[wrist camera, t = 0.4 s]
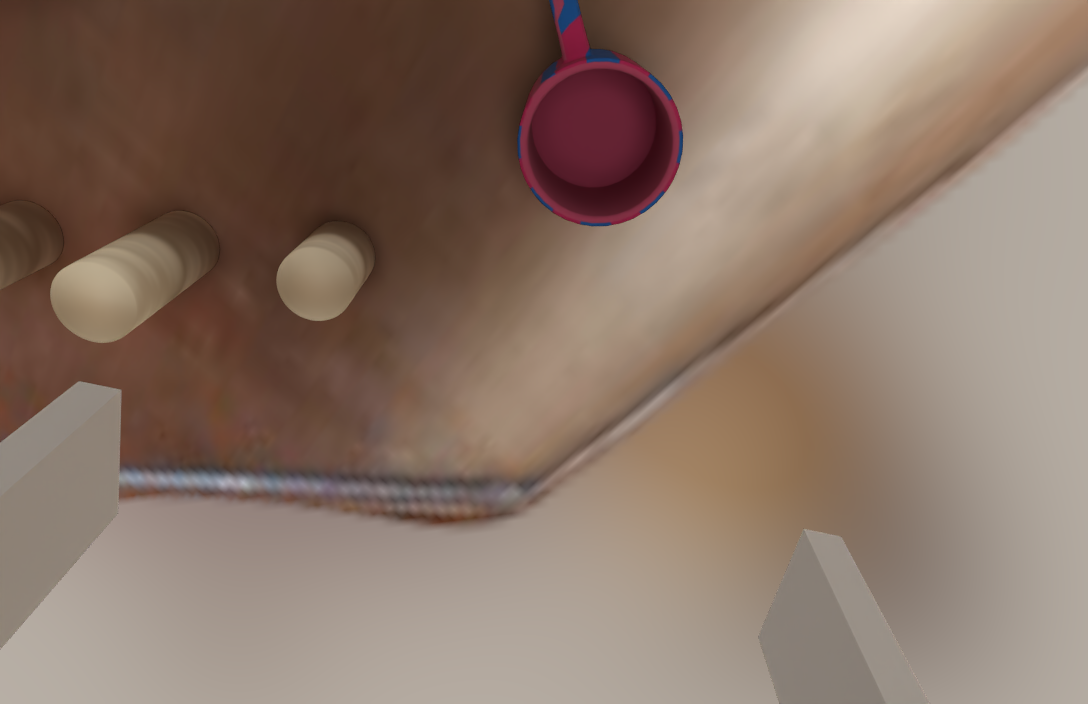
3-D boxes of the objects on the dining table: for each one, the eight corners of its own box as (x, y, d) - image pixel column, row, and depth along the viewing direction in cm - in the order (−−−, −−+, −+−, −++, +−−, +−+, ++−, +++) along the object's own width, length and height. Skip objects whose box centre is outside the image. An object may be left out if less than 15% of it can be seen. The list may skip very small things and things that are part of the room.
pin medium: (147, 208, 41) (43, 259, 33) (216, 213, 41) (130, 265, 33) (155, 274, 42) (58, 339, 34) (222, 279, 43) (141, 345, 34)
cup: (535, 201, 41) (531, 237, 34) (500, -15, 37) (488, -19, 31) (669, 181, 40) (690, 213, 34) (647, -41, 36) (665, -51, 30)
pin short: (305, 218, 41) (273, 245, 37) (374, 223, 41) (351, 250, 37) (308, 284, 43) (278, 318, 38) (375, 288, 43) (354, 323, 38)
